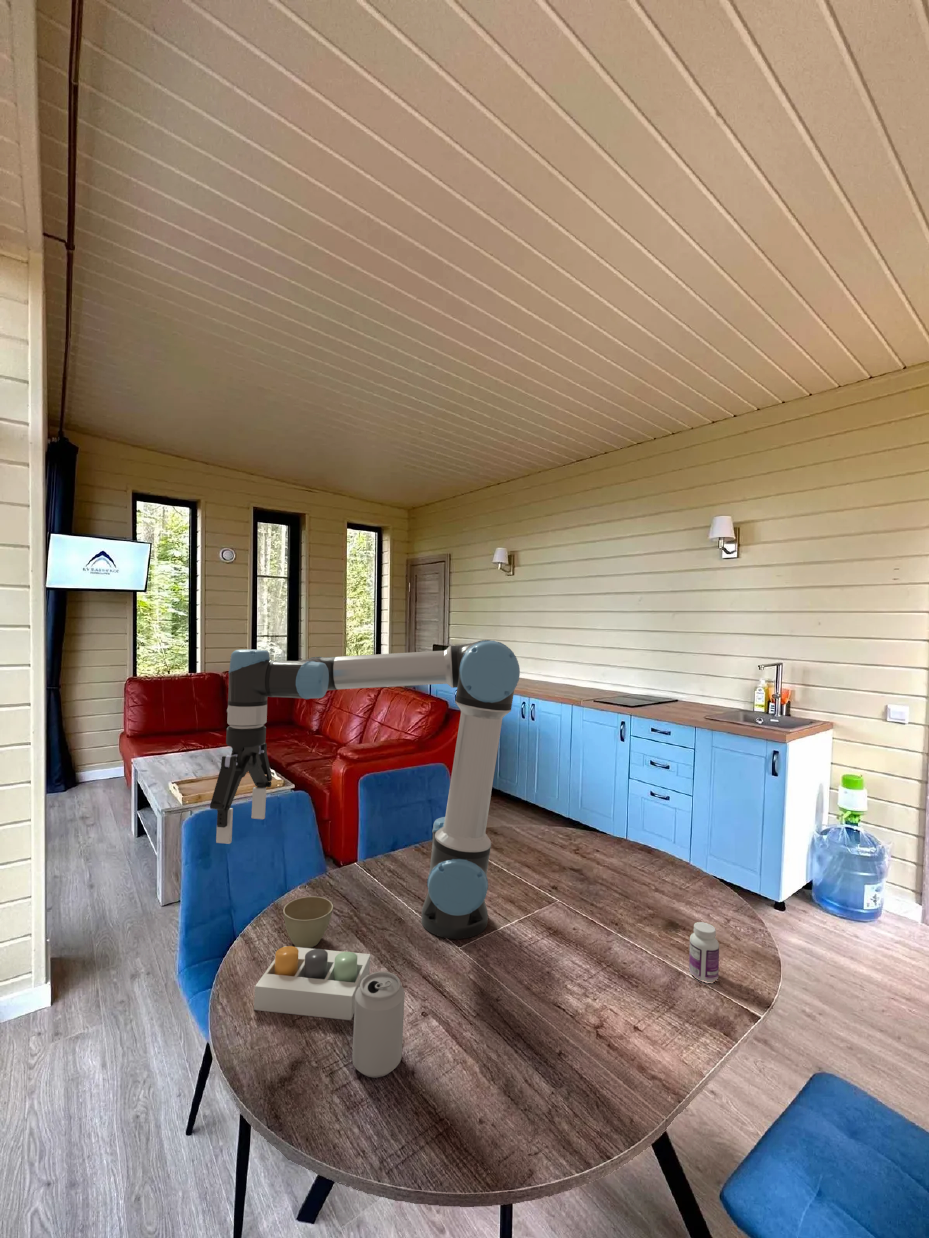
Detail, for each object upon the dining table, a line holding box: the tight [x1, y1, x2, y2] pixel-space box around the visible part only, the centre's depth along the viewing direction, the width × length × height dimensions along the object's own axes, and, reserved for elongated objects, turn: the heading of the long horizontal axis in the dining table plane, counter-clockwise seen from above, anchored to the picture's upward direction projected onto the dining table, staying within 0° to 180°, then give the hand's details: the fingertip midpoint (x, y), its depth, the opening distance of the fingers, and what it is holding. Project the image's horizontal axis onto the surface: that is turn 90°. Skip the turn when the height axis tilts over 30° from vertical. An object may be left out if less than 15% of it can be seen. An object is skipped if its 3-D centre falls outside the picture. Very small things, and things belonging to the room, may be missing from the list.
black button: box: [304, 948, 328, 980], centre depth 99 cm, size 4×4×4 cm
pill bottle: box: [688, 921, 720, 982], centre depth 108 cm, size 5×5×10 cm
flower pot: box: [282, 895, 334, 949], centre depth 114 cm, size 10×10×7 cm
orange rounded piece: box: [274, 945, 299, 976], centre depth 99 cm, size 4×4×4 cm
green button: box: [334, 951, 357, 983], centre depth 98 cm, size 4×4×4 cm
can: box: [351, 971, 406, 1079], centre depth 83 cm, size 8×8×12 cm
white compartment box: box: [253, 945, 371, 1021], centre depth 99 cm, size 17×12×4 cm
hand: (242, 829), depth 111 cm, fingers open, 13 cm apart
